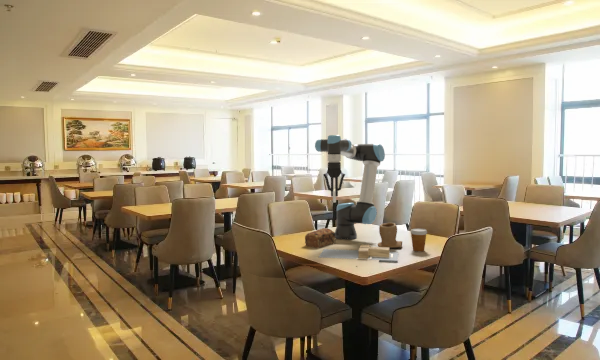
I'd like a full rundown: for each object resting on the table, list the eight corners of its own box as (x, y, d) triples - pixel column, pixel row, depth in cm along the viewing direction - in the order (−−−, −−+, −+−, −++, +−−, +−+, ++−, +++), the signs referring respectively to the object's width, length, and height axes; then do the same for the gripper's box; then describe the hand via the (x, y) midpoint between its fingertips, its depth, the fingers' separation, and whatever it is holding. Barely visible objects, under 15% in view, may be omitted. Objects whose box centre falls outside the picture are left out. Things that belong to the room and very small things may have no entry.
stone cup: (378, 249, 254) (378, 224, 253) (376, 245, 265) (376, 221, 264) (404, 250, 252) (405, 224, 251) (402, 245, 264) (402, 221, 263)
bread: (322, 242, 277) (322, 226, 276) (336, 244, 270) (336, 228, 270) (304, 247, 263) (304, 231, 262) (318, 250, 256) (317, 233, 255)
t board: (324, 250, 253) (324, 248, 253) (397, 253, 244) (397, 251, 244) (318, 259, 234) (318, 257, 234) (397, 262, 225) (397, 260, 225)
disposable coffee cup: (407, 248, 256) (407, 228, 255) (423, 248, 257) (423, 228, 256) (413, 252, 246) (413, 231, 246) (429, 251, 247) (429, 231, 246)
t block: (360, 251, 246) (360, 244, 246) (389, 252, 243) (389, 245, 243) (358, 258, 231) (358, 250, 231) (389, 259, 227) (389, 251, 227)
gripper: (322, 162, 248) (322, 202, 250) (344, 162, 245) (344, 203, 247) (324, 161, 256) (324, 201, 257) (346, 161, 253) (346, 201, 254)
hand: (334, 202), depth 252 cm, fingers closed
